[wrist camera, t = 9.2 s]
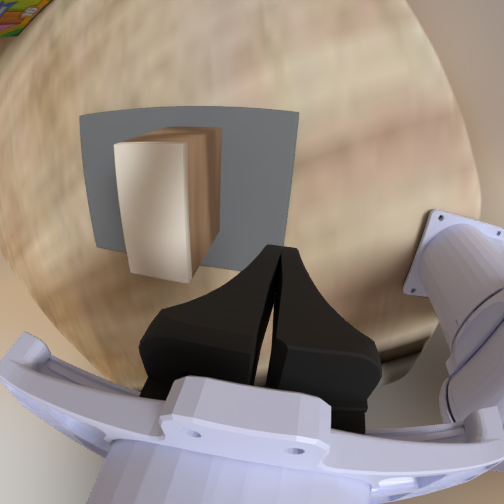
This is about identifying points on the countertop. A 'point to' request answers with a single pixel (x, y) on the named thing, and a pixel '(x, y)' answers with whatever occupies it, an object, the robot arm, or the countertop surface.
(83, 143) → the slate mat
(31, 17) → the chalk box
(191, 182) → the beige rectangular block
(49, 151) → the countertop surface
